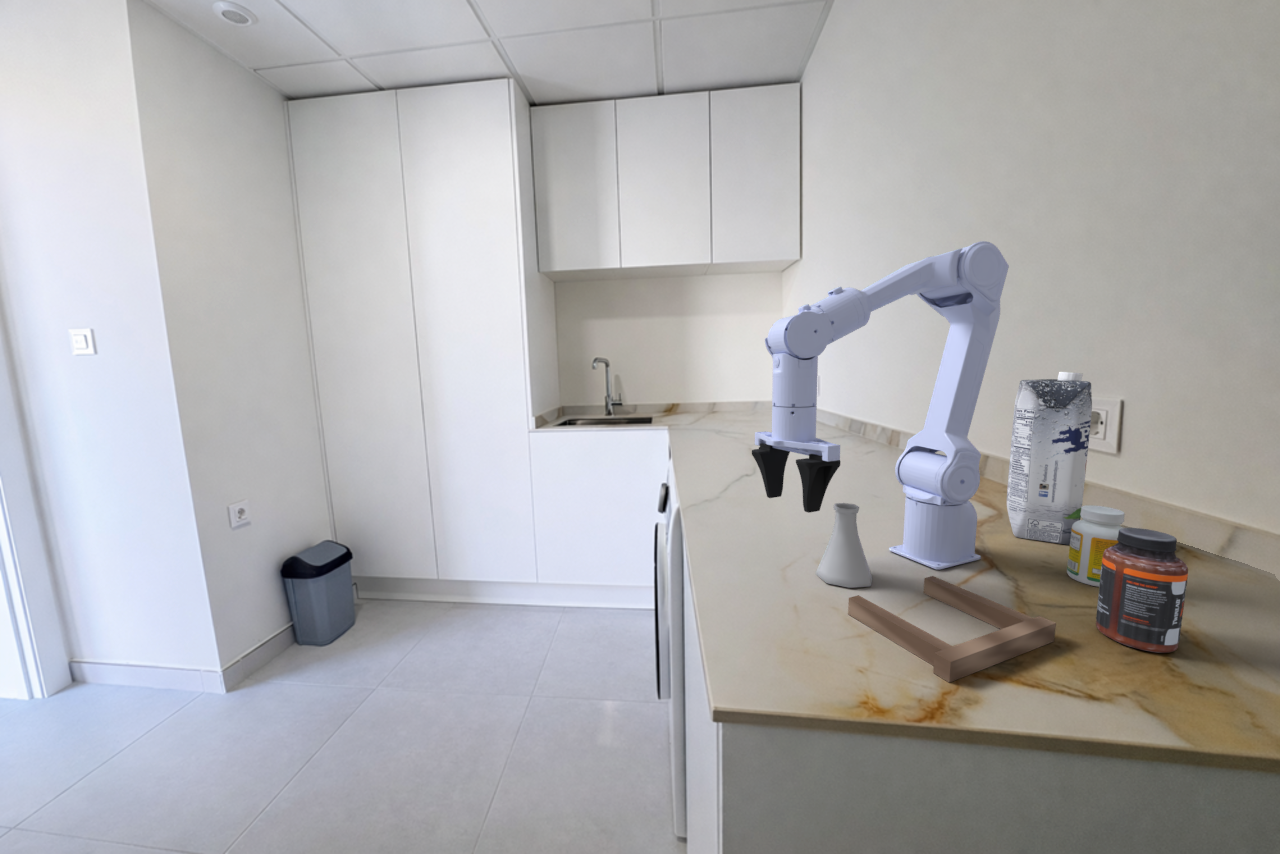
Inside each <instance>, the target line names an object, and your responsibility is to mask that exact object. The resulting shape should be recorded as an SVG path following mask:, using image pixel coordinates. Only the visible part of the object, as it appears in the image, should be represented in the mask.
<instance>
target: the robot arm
mask: <svg viewBox="0 0 1280 854" xmlns="http://www.w3.org/2000/svg"><path fill="white" fill-rule="evenodd" d="M1009 268H1010V266H1009V263H1008V262H1007V260H1006V259H1005V257H1004V255H1003V254H1002V252H1001V250H1000V249H999V248H998V246H997V245H995V244H994V243H992V242H990V241H985V240H980V241H978V242H973V243H972V244H970V245H968V246H964V247H962V248H961V247H960V248H957V249H955V250H951V251H947V252H944V253H941V254H937V255H933V256H927V257H924V258H923V259H921V260H917V261H915V262H911V263H908V264H905V265H903V266H901V267H899V269H897V270H894V271H893V272H892V273H889V274H888V275H885V276H884V277H882V278H880V279H878V280H877V281H875V282H873V283H872V284H870V285H868V286H867V287H864V288H863V289H861V290H860V289H857V288H854V287H850V286H849V287H844V288H843V287H842V286H838V287H834V288H833V289H831V290H829V291H827V295H828V296H827V297H824V298H823V299H820V300H819V301H817V302H815V303H813V304H811V305H810V304H808V303H807V304H804V305H801V306H799V307H798V308H797V309H798V313H797V314H794V315H790V316H785V317H781V318H780V319H777V320H776V321H775V322H774V323H773V324H772V326H771V327H770V328H769V331H768V332H767V333H768V334H767V337H764V343H765V344H764V345H765V347H766V350H767V352H768V353H769V355H771V358H772V391H771V392H772V394H771V395H772V398H771V403H772V404H771V405H772V406H771V432H770V431H757V432H755V431H754V445H755V446H758V448H755V449H751V456H752V457H753V459H754V460H755V462H756V464H757V466H758V468H759V472H760V474H761V477H762V481H763V486H764V490H765V493H766V497H767V498H769V499H773V498H780V497H782V495H783V489H784V479H785V478H784V477H785V470H786V464H787V461H788V458H789V455H790V453H795V454H798V455H804V456H807V457H806V458H797V459H795V463H796V466H797V470H798V472H799V475H800V480H801V486H802V505H803V511H804V512H806V513H810V514H811V513H815V512H819V511H820V510H821V507H822V504H823V501H824V498H825V494H826V491H827V489H828V486H829V484H830V482H831V481H832V478H833V477H834V475H835V473H836V472H837V471H838V469H839V468H840V466H841V444H836V443H833V442H830V441H827V440H824V439H821V438H818V437H817V408H818V407H817V401H818V400H817V399H818V398H817V397H818V370H819V369H818V365H819V364H818V363H819V362H818V361H819V358H818V357H819V356H820V355H822V354H823V352H824V351H825V349H826V348H827V346H829V345H831V344H832V343H834V342H836V341H838V340H840V339H842V338H843V337H846V336H848V335H850V334H851V333H853V332H855V331H857V330H859V329H861V328H863V327H864V326H866V325H867V324H868V322H869V320H870V319H871V314H872V313H873V312H874V311H877V310H879V309H881V308H883V307H884V306H886V305H889V304H892V303H893V302H895V301H899V300H900V299H902V298H904V297H907V296H909V295H910V296H913V295H914V296H915V295H917V297H918V298H920V299H921V300H922V301H923V302H924V303H925V304H926V305H928V306H929V307H930V308H932V309H933V310H934V311H935V312H937V313H938V314H939V315H940V316H941V317H944V318H945V319H946V320H947V322H948V323H949V329H948V333H947V337H946V341H945V344H944V348H943V352H942V356H941V359H940V363H939V369H938V372H937V376H936V379H935V383H934V387H933V390H932V396H931V398H930V403H929V405H928V406H929V407H928V410H927V414H926V417H925V421H924V426H923V429H921V430H920V431H918V432H917V433H916V434H914V435H912V436H911V437H910V438H908V440H907V442H906V446H905V449H904V451H903V452H902V453H901V454H900V455H899V457H898V459H897V461H896V463H895V466H894V467H895V468H894V471H895V472H894V473H895V478H896V480H897V481H898V483H899V484H900V485H901V486H902V493H904V494H905V499H904V503H905V505H904V519H903V520H904V521H903V538H902V540H903V541H902V544H898V545H894V546H890V547H888V550H889V551H890V552H892V553H894V554H897V555H899V556H902V557H904V558H907V559H910V560H911V561H914V562H916V563H919V564H920V565H921V564H922V565H924V566H927V567H929V568H931V569H933V570H943V569H947V568H951V567H954V566H958V565H962V564H967V563H972V562H975V561H980V560H981V559H982V558H981V557H982V556H981V555H979V554H977V553H976V551H975V550H976V541H977V540H976V539H977V538H976V537H977V527H978V513H977V511H976V508H975V506H974V505H973V503H972V502H971V501H970V499H972V497H974V495H975V494H976V493H977V491H978V489H979V487H980V483H981V473H980V462H981V457H982V454H981V451H979V449H978V448H976V446H975V445H974V444H973V443H972V442H971V440H969V438H968V436H969V432H970V428H971V424H972V420H973V417H974V413H975V410H976V406H977V403H978V399H979V395H980V391H981V387H982V384H983V381H984V376H985V372H986V369H987V365H988V361H989V358H990V354H991V351H992V347H993V344H994V339H995V336H996V331H997V329H998V325H999V322H1000V315H1001V297H1002V293H1003V290H1004V286H1005V282H1006V279H1007V274H1008V271H1009ZM937 452H943V453H944V454H945V455H944V454H940V453H937Z"/></svg>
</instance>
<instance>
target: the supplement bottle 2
mask: <svg viewBox="0 0 1280 854" xmlns="http://www.w3.org/2000/svg"><path fill="white" fill-rule="evenodd" d="M1117 541H1118V543H1117V544H1115V545H1114V546H1111V547H1109V548H1107V549H1106V550H1105V551H1104V553H1103V558H1102V567H1101V576H1100V585H1099V587H1098V595H1097V596H1098V598H1097V605H1096V614H1095V627H1096V628H1097V630H1098V631H1099V632H1100V633H1101V634H1102V635H1104V636H1106V637H1107V638H1109V639H1111V640H1113V641H1115V642H1116V643H1118V644H1121V645H1123V646H1126V647H1130V648H1133V649H1136V650H1140V651H1144V652H1151V653H1159V654H1166V653H1173V652H1175V651H1177V650H1178V648H1179V643H1180V641H1181V629H1182V623H1183V616H1184V615H1183V614H1184V606H1185V599H1186V592H1187V585H1188V577H1189V567H1188V566H1187V563H1185V562H1184V561H1183V560H1182V559H1181V558H1179V557H1177V555H1176V551H1177V542H1178V541H1177V538H1176V537H1175V536H1173V535H1172V534H1169V533H1166V532H1162V531H1158V530H1153V529H1147V528H1142V527H1139V528H1138V527H1123V528H1121V529H1119V533H1118V538H1117Z"/></svg>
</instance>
